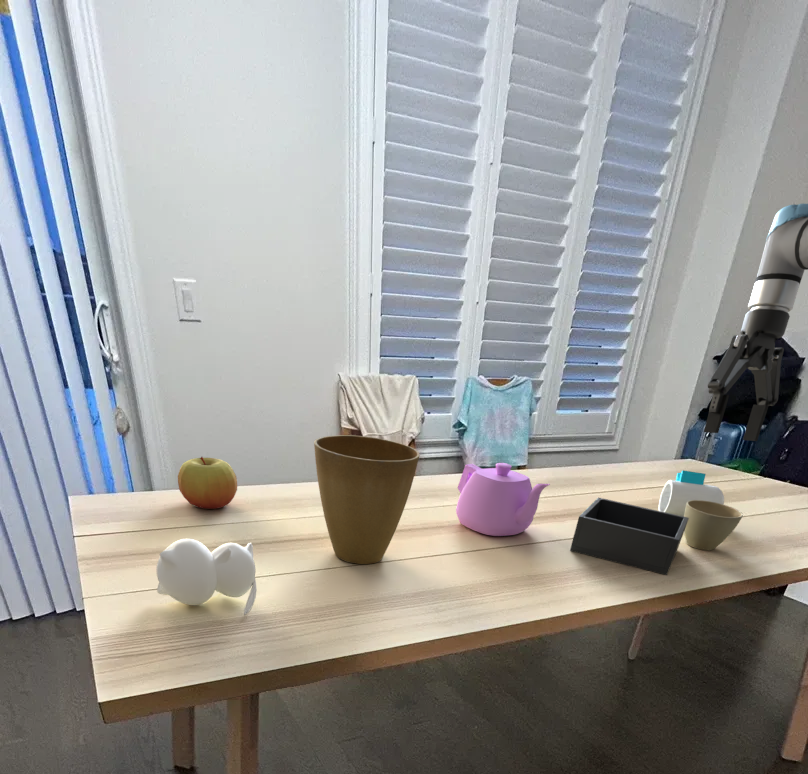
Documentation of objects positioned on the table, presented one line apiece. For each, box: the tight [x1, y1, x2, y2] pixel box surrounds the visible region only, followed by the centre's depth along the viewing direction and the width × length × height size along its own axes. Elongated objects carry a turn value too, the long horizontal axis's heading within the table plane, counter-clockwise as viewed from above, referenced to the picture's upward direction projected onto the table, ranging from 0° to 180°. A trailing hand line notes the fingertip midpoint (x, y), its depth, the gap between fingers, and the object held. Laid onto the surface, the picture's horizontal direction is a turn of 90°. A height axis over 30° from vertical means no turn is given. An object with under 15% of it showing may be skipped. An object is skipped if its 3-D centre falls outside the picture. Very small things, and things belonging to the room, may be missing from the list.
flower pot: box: [684, 500, 744, 551], centre depth 119 cm, size 10×10×7 cm
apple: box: [177, 456, 238, 510], centre depth 108 cm, size 10×10×8 cm
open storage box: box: [569, 497, 689, 576], centre depth 112 cm, size 17×16×6 cm
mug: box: [657, 469, 725, 517], centre depth 136 cm, size 12×9×12 cm
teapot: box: [455, 462, 551, 537], centre depth 113 cm, size 13×20×11 cm
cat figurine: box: [156, 538, 258, 617], centre depth 77 cm, size 9×11×12 cm
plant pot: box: [313, 434, 421, 565], centre depth 94 cm, size 15×15×16 cm
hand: (730, 436), depth 126 cm, fingers open, 13 cm apart
